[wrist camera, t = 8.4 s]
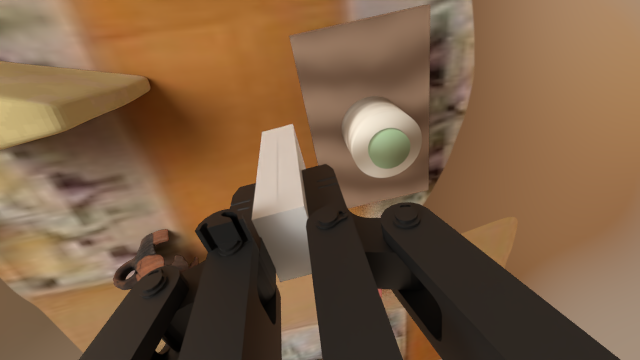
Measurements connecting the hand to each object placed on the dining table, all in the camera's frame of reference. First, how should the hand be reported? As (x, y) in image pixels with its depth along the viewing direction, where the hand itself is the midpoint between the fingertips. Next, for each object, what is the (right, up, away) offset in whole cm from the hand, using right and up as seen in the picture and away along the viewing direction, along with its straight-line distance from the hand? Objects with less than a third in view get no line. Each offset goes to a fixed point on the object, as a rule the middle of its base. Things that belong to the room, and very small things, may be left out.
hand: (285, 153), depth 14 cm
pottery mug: (-24, -13, +33) cm, 43 cm away
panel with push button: (+8, +6, +20) cm, 23 cm away
